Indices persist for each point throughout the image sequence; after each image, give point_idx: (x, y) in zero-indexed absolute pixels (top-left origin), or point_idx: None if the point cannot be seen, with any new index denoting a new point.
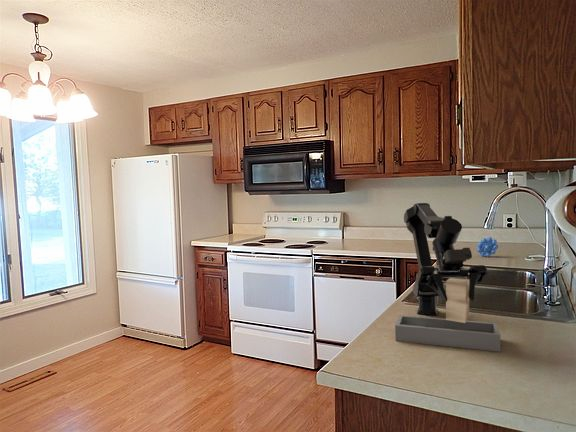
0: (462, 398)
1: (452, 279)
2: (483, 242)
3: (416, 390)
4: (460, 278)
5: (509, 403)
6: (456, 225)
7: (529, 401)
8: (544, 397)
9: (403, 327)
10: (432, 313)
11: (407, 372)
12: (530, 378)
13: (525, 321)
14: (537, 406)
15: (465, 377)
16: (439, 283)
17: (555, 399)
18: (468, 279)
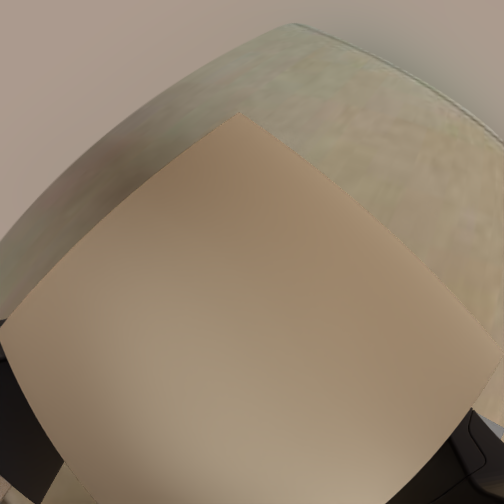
0: (415, 85)
1: (308, 470)
2: None
3: (483, 130)
4: (77, 466)
5: (343, 57)
6: None
7: (305, 54)
8: (270, 56)
9: (483, 418)
10: None
11: (495, 195)
12: (234, 101)
13: None
14: (303, 45)
15: (381, 134)
16: (495, 455)
17: (256, 51)
18: (10, 327)
